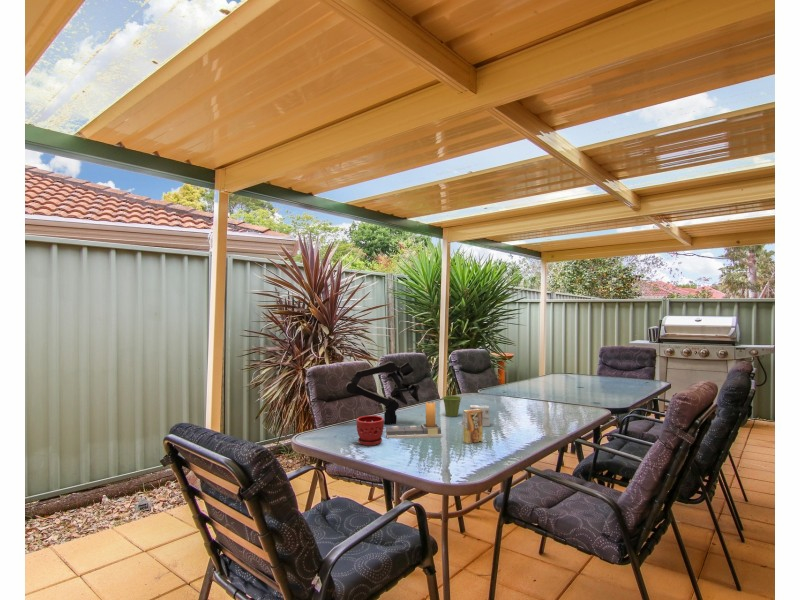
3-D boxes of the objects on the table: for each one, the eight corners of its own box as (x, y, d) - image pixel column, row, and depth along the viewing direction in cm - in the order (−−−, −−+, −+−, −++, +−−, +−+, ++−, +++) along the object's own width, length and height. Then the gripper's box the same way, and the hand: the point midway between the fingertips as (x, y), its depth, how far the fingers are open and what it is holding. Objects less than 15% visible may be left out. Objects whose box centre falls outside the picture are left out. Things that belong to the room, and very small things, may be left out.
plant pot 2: (441, 417, 275) (441, 398, 275) (443, 413, 287) (443, 395, 287) (461, 418, 273) (461, 399, 273) (462, 414, 285) (461, 395, 285)
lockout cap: (426, 429, 232) (426, 403, 233) (425, 427, 237) (425, 401, 238) (436, 429, 233) (436, 403, 233) (434, 426, 238) (434, 401, 238)
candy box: (477, 439, 225) (477, 408, 225) (483, 441, 221) (482, 409, 221) (462, 441, 221) (462, 409, 221) (467, 443, 217) (467, 411, 218)
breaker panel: (387, 438, 226) (387, 429, 226) (385, 432, 238) (385, 424, 238) (442, 437, 229) (442, 428, 229) (437, 431, 241) (437, 422, 241)
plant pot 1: (352, 442, 221) (352, 417, 221) (376, 438, 227) (376, 414, 228) (363, 448, 209) (363, 422, 210) (388, 444, 216) (388, 419, 217)
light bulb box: (488, 424, 258) (488, 404, 258) (490, 426, 251) (489, 407, 252) (469, 423, 259) (469, 404, 259) (470, 426, 252) (470, 406, 253)
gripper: (393, 373, 249) (407, 396, 241) (417, 370, 262) (431, 391, 254) (384, 386, 255) (397, 408, 246) (408, 382, 267) (421, 403, 259)
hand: (412, 402), depth 251 cm, fingers open, 9 cm apart
